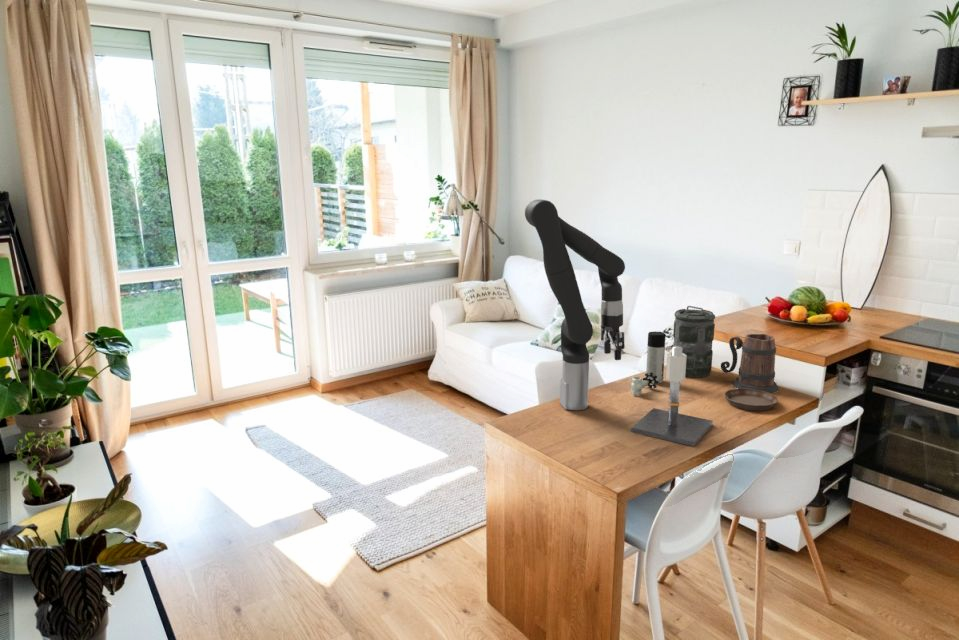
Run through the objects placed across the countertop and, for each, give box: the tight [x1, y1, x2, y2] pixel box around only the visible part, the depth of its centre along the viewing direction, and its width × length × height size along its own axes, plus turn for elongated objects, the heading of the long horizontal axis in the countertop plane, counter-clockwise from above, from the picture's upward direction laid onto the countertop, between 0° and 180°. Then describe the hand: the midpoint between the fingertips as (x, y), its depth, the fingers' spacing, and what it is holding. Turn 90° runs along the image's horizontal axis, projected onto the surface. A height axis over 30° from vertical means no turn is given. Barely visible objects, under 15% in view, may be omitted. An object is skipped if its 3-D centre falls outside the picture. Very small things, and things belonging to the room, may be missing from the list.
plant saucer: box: [723, 388, 779, 412], centre depth 218 cm, size 18×18×3 cm
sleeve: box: [665, 351, 687, 382], centre depth 193 cm, size 5×5×8 cm
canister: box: [672, 305, 716, 378], centre depth 250 cm, size 16×16×28 cm
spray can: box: [645, 331, 666, 385], centre depth 241 cm, size 7×7×20 cm
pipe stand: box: [630, 345, 714, 447], centre depth 195 cm, size 20×20×28 cm
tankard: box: [720, 333, 780, 394], centre depth 237 cm, size 24×17×20 cm
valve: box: [630, 372, 659, 396], centre depth 231 cm, size 7×7×12 cm
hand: (612, 356), depth 217 cm, fingers open, 8 cm apart
